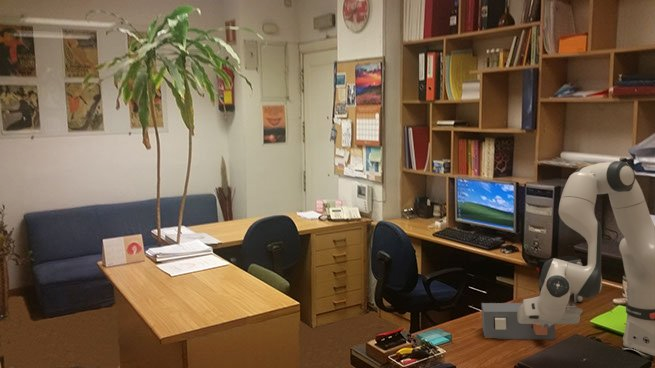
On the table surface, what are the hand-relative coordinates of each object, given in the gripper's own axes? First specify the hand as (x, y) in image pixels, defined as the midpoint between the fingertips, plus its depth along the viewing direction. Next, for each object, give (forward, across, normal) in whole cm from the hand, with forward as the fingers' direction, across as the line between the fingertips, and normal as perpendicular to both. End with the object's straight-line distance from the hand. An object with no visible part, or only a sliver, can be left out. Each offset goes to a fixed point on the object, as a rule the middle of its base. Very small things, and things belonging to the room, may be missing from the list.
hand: (545, 325), depth 196 cm
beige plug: (+17, +14, -8) cm, 23 cm away
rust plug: (+13, 0, -4) cm, 14 cm away
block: (+21, +7, -6) cm, 23 cm away
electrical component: (+50, -18, -34) cm, 63 cm away
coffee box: (+37, -16, -21) cm, 45 cm away
